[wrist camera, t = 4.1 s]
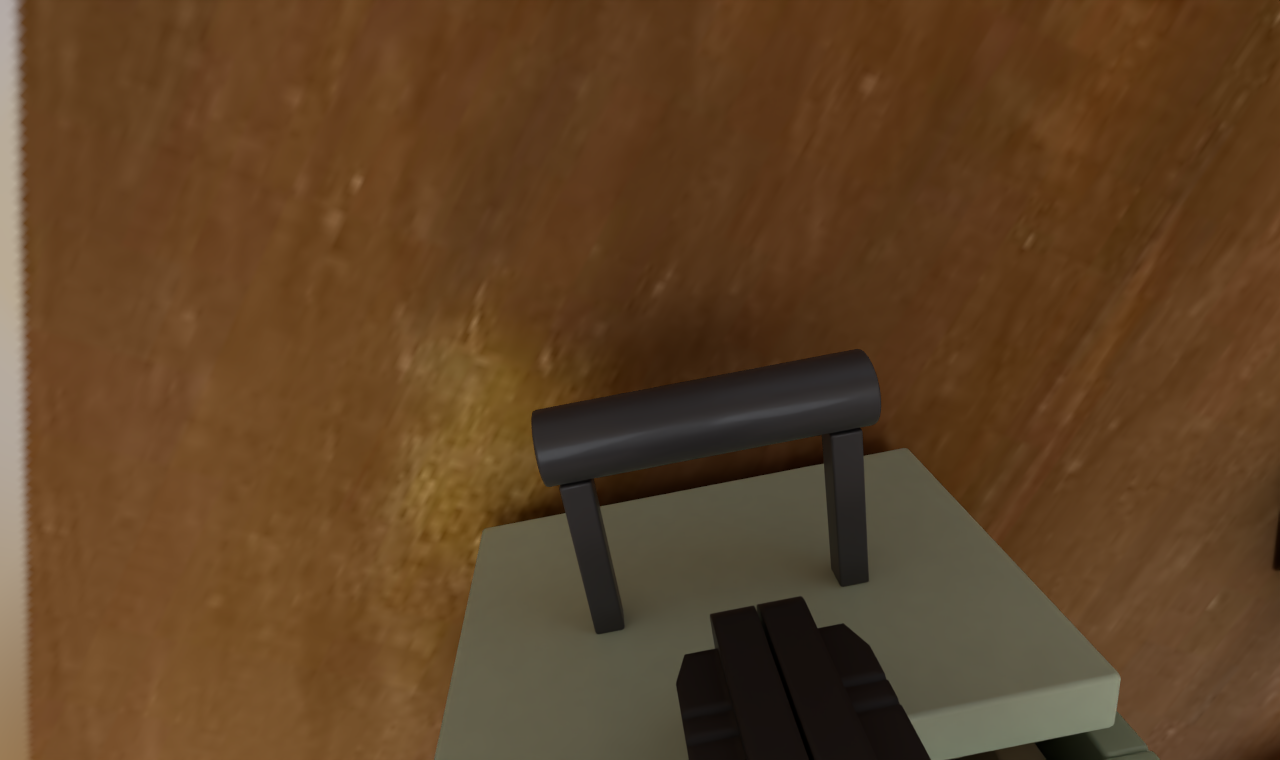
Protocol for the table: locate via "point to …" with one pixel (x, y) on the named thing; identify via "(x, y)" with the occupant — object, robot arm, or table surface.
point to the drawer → (752, 580)
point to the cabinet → (1099, 745)
